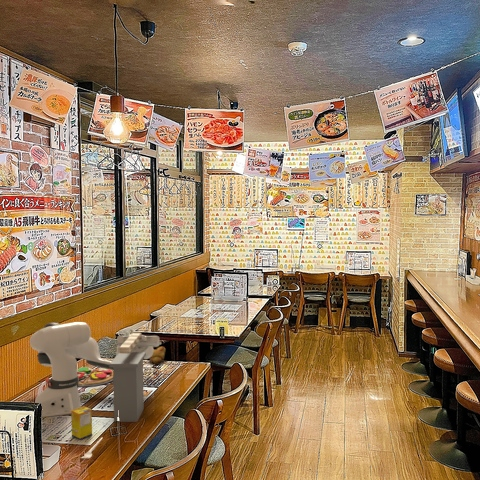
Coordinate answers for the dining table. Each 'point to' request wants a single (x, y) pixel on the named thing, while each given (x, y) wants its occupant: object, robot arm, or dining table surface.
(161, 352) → the bread roll
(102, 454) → the dining table surface
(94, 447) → the fork
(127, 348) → the birch bar
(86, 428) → the supplement box
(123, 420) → the charcoal stand
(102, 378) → the toy pizza
